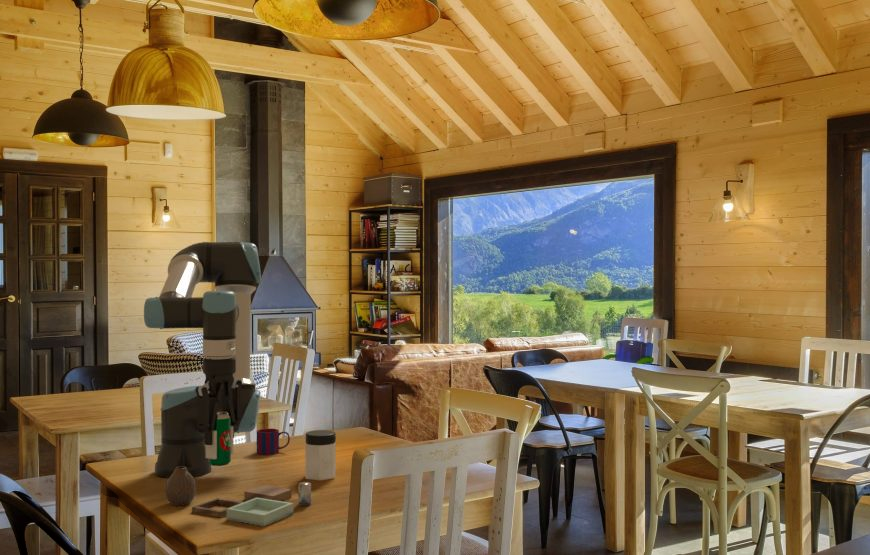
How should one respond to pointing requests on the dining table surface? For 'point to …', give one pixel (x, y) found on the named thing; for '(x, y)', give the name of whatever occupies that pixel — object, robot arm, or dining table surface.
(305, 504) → the salt shaker
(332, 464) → the jar
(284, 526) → the dining table surface
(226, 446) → the soda can
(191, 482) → the vase
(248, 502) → the tray
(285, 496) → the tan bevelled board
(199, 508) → the brown square frame
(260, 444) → the mug
